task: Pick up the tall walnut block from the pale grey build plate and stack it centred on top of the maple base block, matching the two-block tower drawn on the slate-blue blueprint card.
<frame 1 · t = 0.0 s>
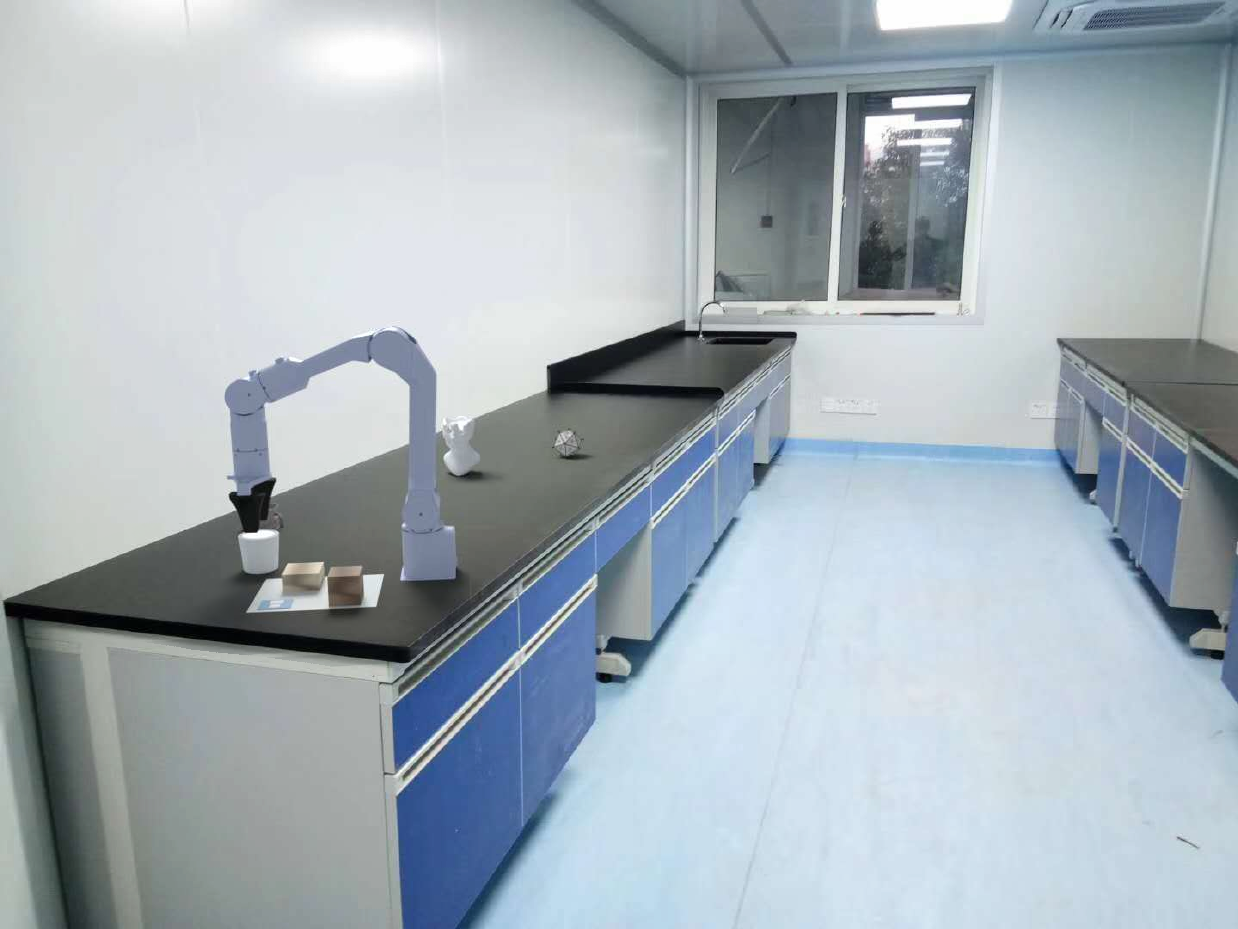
hand: (256, 526, 163), 10 cm above the counter, fingers open, 7 cm apart
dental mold: (262, 531, 196), on the counter
game die: (567, 458, 269), on the counter
white tapered cup: (261, 572, 171), on the counter
walnut block: (346, 600, 156), resting on build plate
build plate: (319, 595, 160), on the counter
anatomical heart: (459, 476, 246), on the counter
maple base block: (304, 585, 163), resting on build plate
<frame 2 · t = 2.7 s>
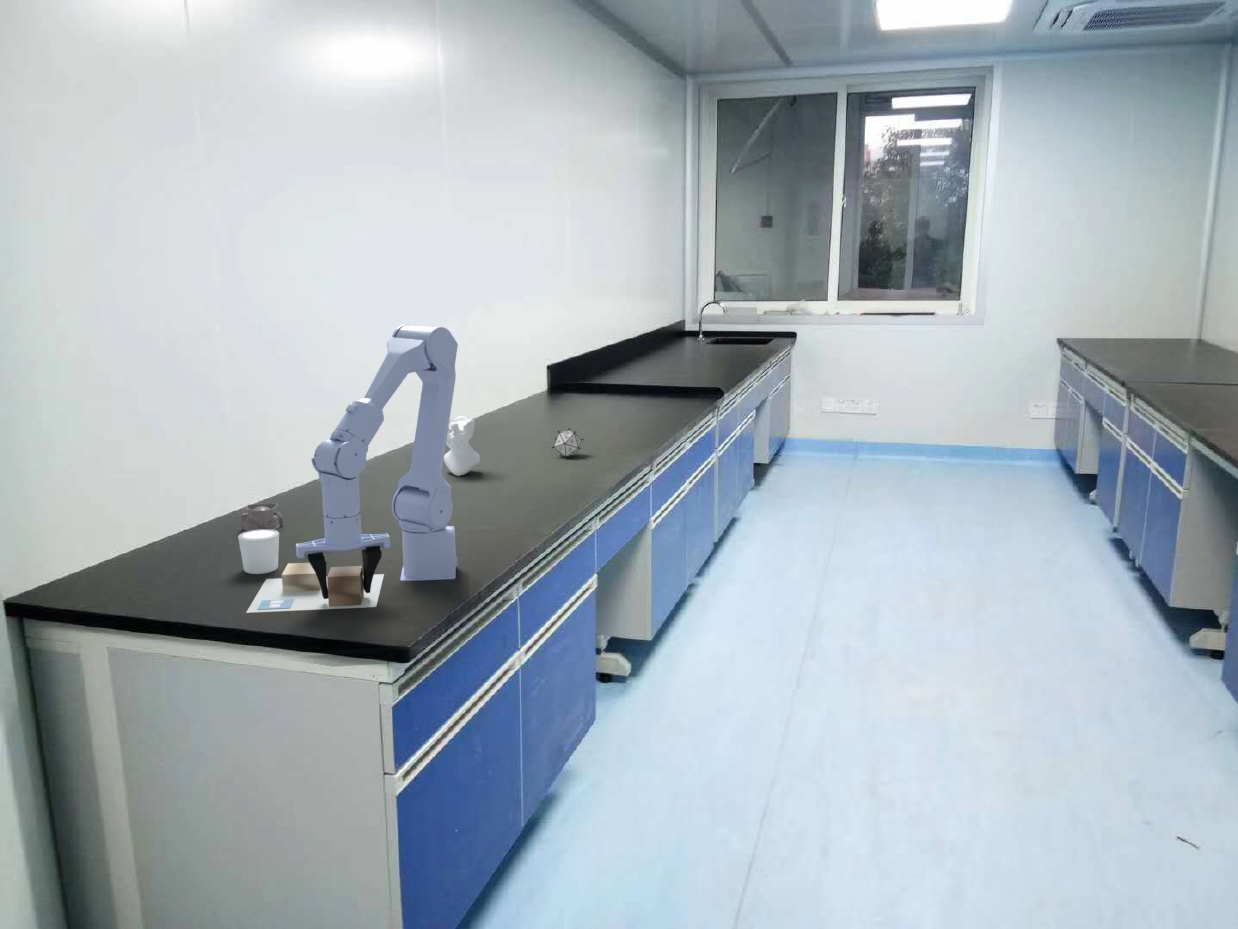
hand: (346, 594, 156), 2 cm above the counter, fingers closed on walnut block, 6 cm apart
walnut block: (346, 600, 156), resting on build plate, touching gripper
everything else where it was.
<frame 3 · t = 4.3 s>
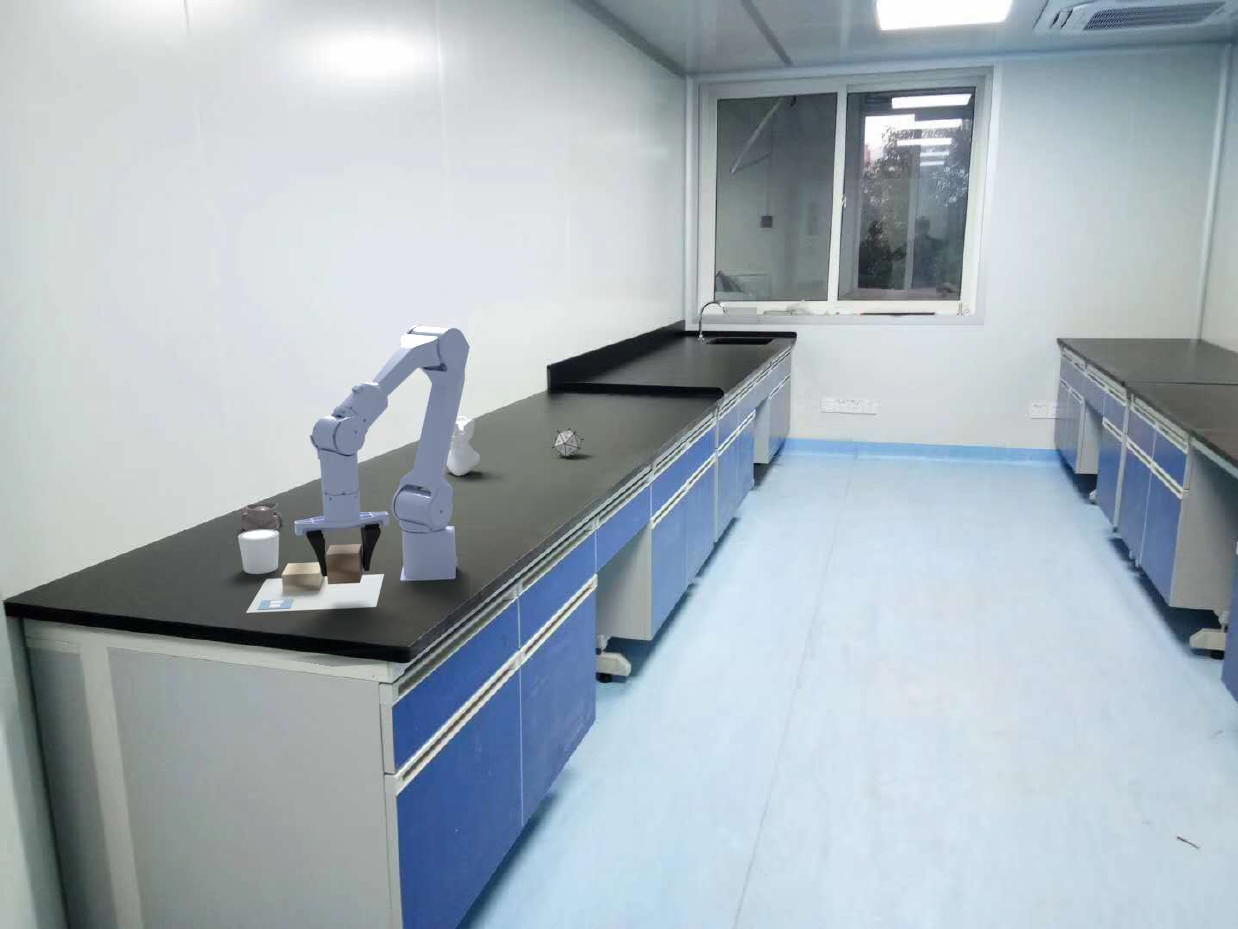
hand: (345, 572, 155), 5 cm above the counter, fingers closed on walnut block, 6 cm apart
walnut block: (345, 578, 155), point 4 cm above the counter, touching gripper
everything else where it was.
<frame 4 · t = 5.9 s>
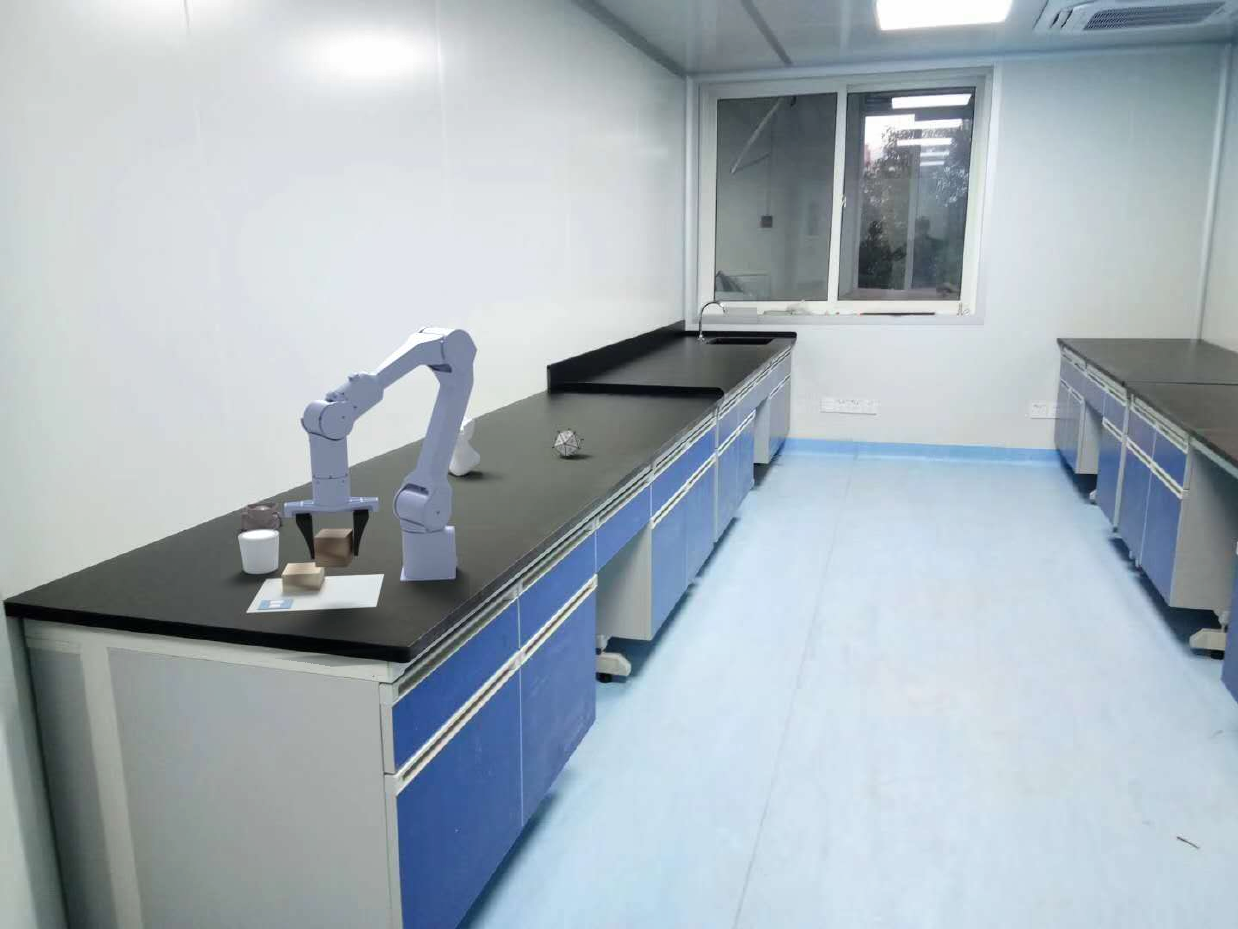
hand: (334, 556, 156), 8 cm above the counter, fingers closed on walnut block, 6 cm apart
walnut block: (335, 562, 156), point 6 cm above the counter, touching gripper
everything else where it was.
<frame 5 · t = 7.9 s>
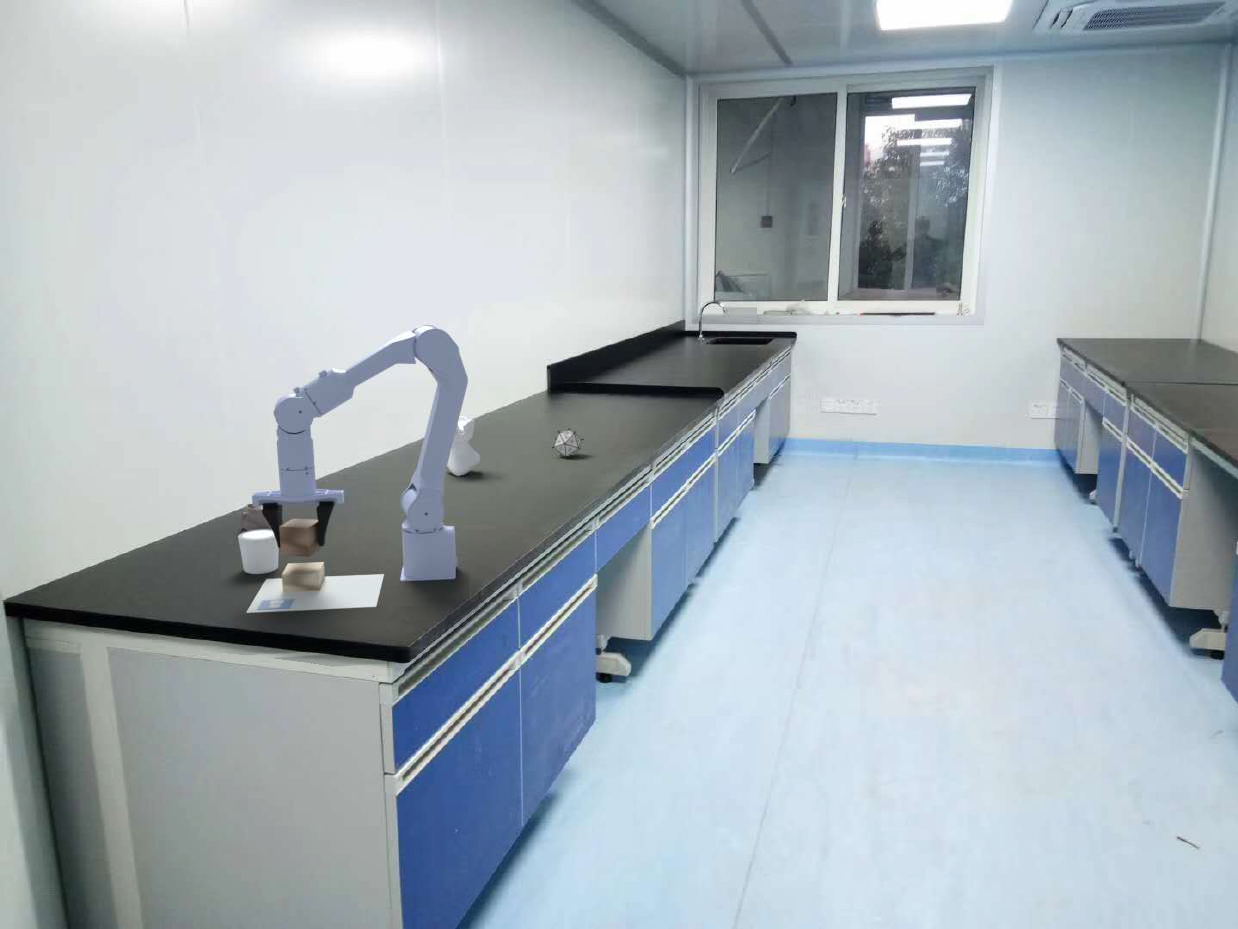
hand: (301, 545, 161), 8 cm above the counter, fingers closed on walnut block, 6 cm apart
walnut block: (302, 551, 161), point 6 cm above the counter, touching gripper
when the fingers open (6 cm above the counter, at t = 9.4 s): walnut block drops 2 cm, resting on maple base block.
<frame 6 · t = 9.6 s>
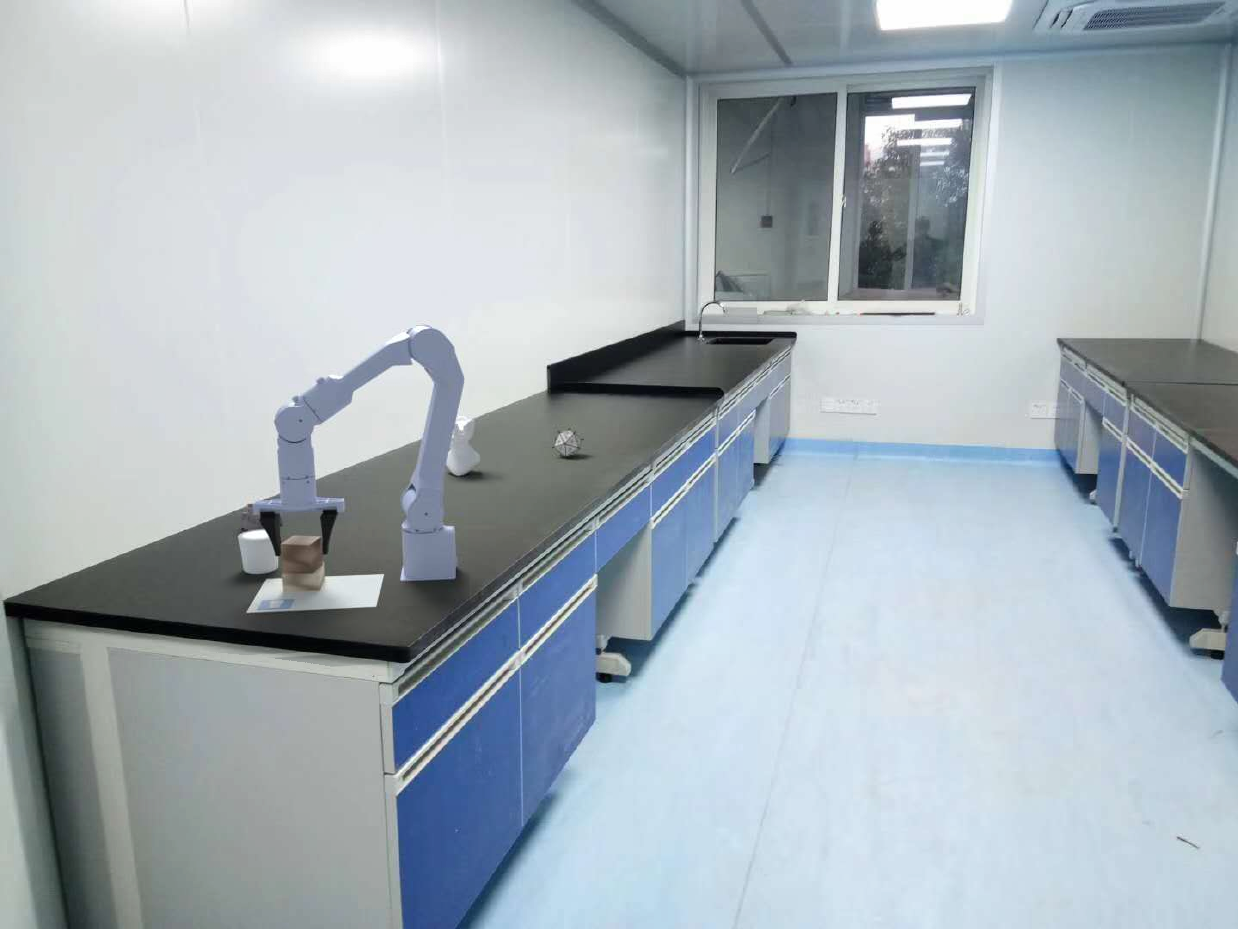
hand: (302, 553, 162), 6 cm above the counter, fingers open, 7 cm apart
walnut block: (303, 568, 162), point 3 cm above the counter, touching maple base block
maple base block: (304, 585, 163), resting on build plate, touching walnut block
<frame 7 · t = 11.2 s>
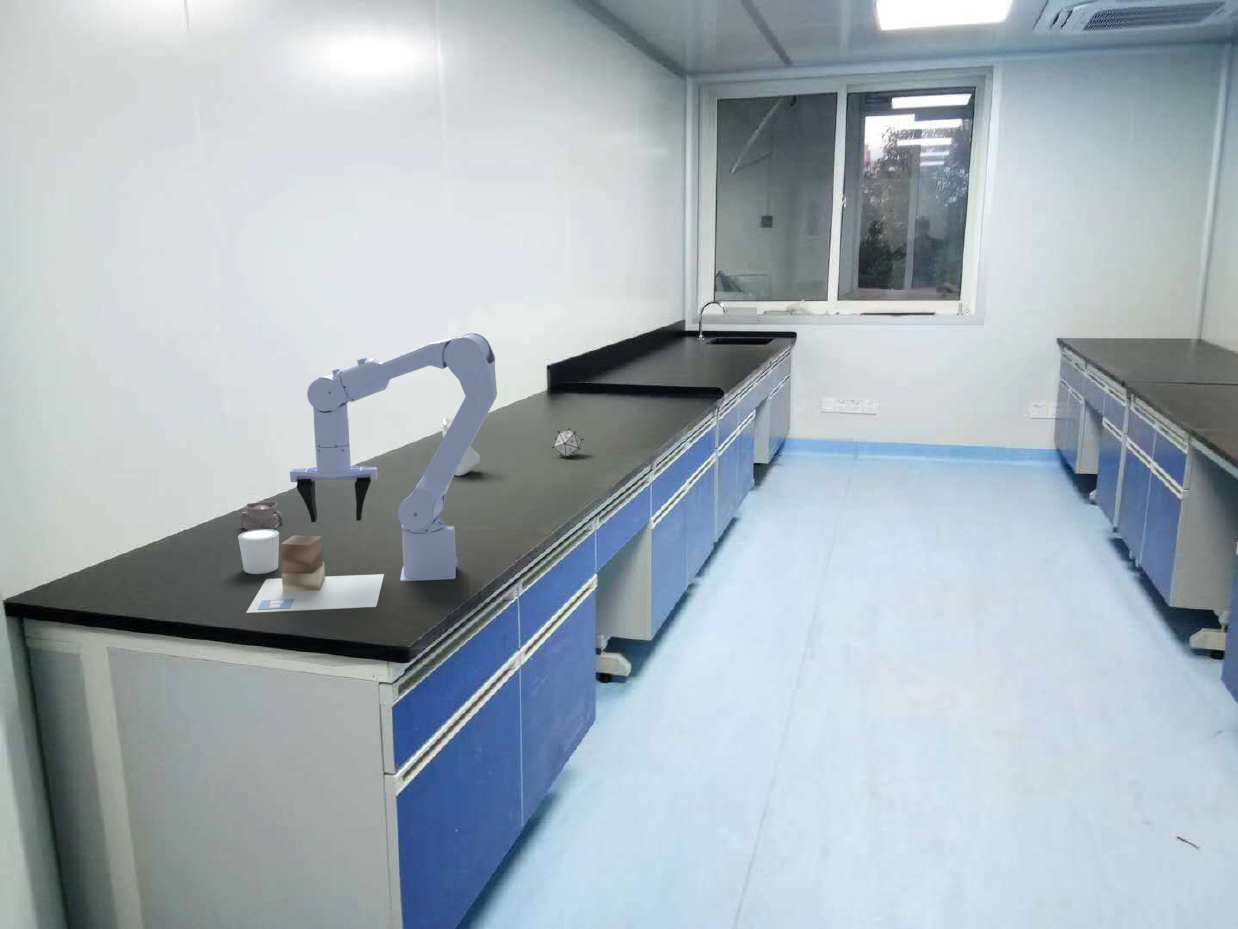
hand: (336, 520, 168), 10 cm above the counter, fingers open, 7 cm apart
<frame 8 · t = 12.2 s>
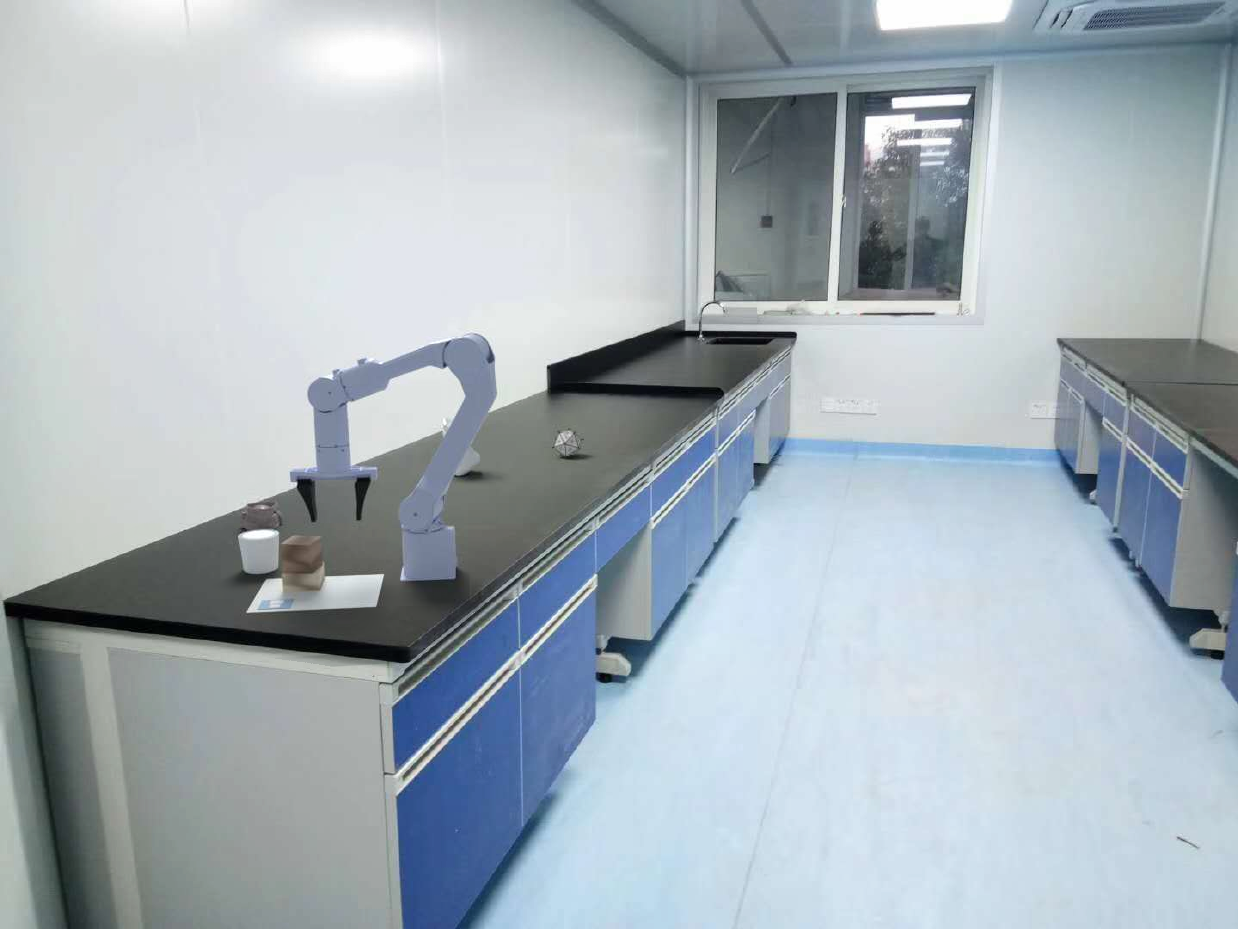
hand: (336, 520, 168), 10 cm above the counter, fingers open, 7 cm apart
at the end: walnut block 0.0 cm off-centre on the maple base block, point 3.0 cm above the maple base block's base; walnut block tilted 0°; the gripper is holding nothing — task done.
